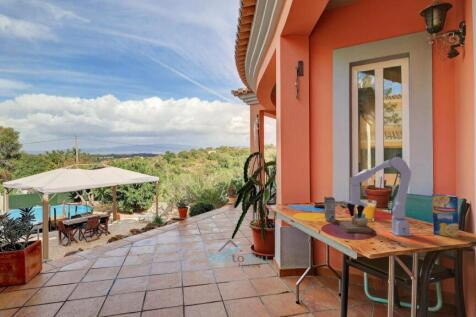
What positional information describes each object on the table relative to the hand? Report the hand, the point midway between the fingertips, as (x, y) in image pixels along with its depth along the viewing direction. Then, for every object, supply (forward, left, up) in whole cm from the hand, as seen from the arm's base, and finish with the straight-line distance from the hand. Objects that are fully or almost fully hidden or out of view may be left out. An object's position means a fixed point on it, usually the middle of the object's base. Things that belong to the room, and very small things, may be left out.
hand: (355, 216), depth 159 cm
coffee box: (+23, +11, -8) cm, 27 cm away
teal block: (+1, -3, -1) cm, 3 cm away
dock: (+1, +1, -7) cm, 8 cm away
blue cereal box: (-9, -45, -8) cm, 47 cm away
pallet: (+1, -2, -5) cm, 6 cm away
